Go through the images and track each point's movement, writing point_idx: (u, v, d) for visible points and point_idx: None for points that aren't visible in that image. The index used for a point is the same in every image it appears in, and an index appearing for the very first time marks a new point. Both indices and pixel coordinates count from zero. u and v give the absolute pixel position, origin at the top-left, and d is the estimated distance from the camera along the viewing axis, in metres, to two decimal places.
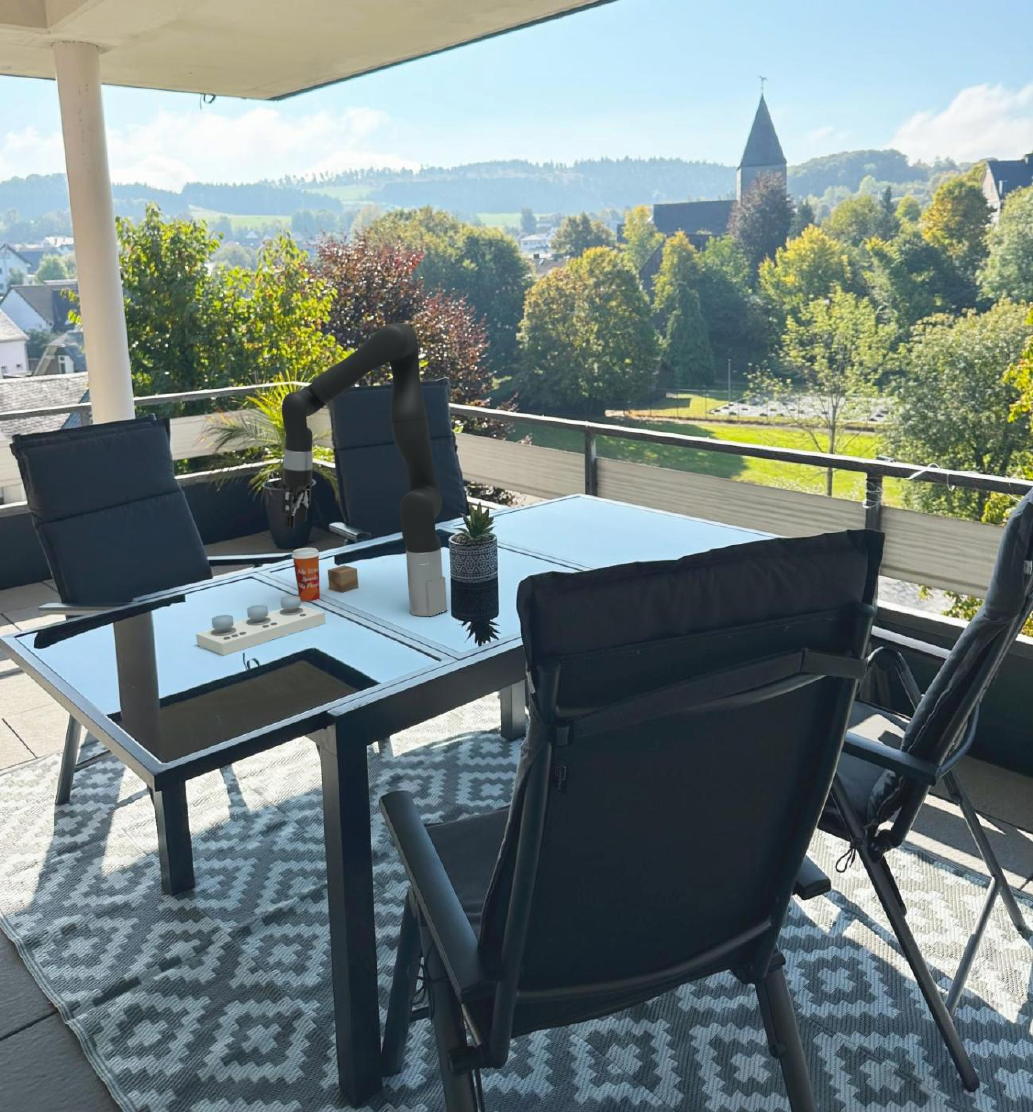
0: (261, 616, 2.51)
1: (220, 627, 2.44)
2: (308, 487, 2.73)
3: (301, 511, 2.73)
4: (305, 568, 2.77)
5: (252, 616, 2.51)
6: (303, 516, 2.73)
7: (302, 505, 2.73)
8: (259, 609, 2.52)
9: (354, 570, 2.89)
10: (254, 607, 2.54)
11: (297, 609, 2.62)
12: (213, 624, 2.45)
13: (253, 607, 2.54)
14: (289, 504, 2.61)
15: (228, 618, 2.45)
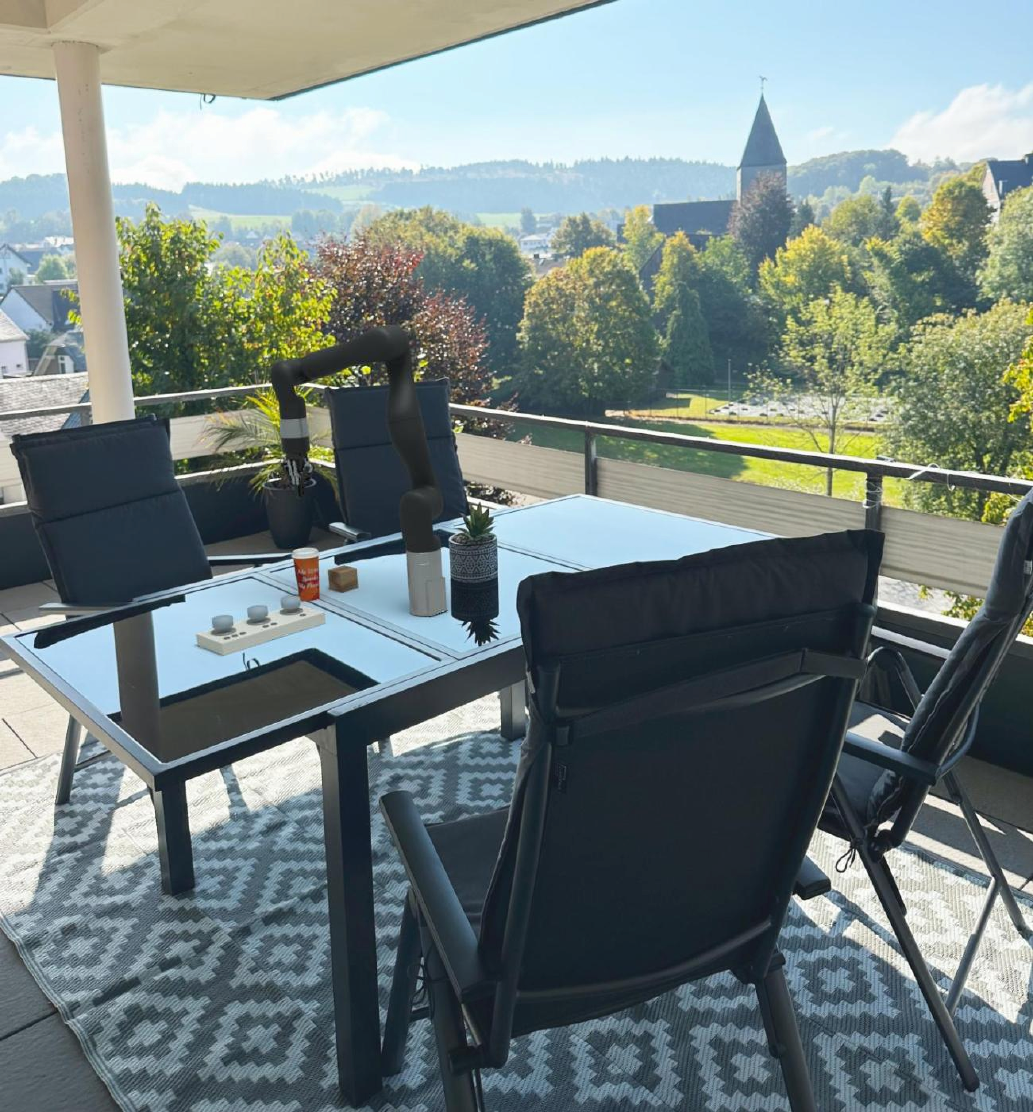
0: (261, 616, 2.51)
1: (220, 627, 2.44)
2: None
3: None
4: (305, 568, 2.77)
5: (252, 616, 2.51)
6: None
7: None
8: (259, 609, 2.52)
9: (354, 570, 2.89)
10: (254, 607, 2.54)
11: (297, 609, 2.62)
12: (213, 624, 2.45)
13: (253, 607, 2.54)
14: (310, 475, 2.71)
15: (228, 618, 2.45)
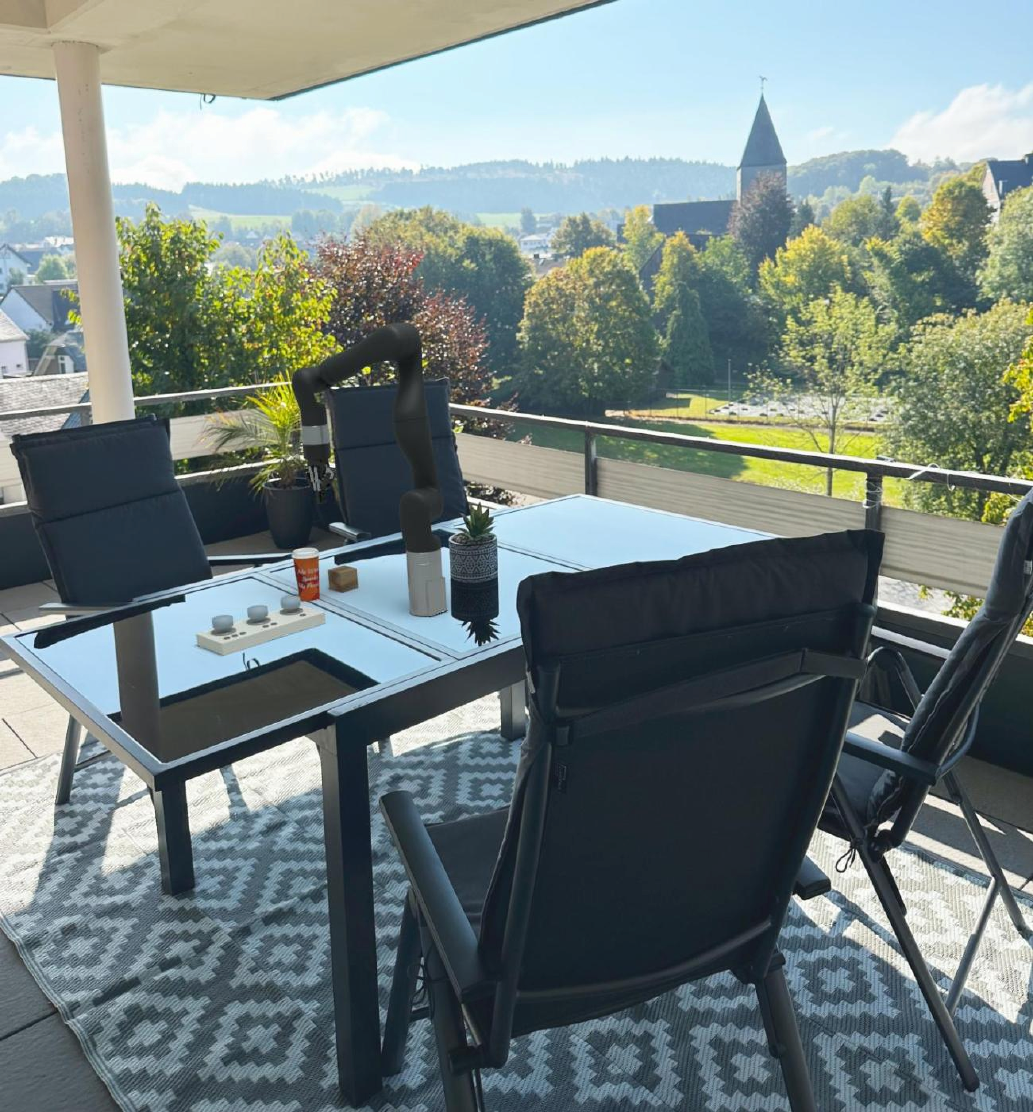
0: (261, 616, 2.51)
1: (220, 627, 2.44)
2: None
3: None
4: (305, 568, 2.77)
5: (252, 616, 2.51)
6: None
7: None
8: (259, 609, 2.52)
9: (354, 570, 2.89)
10: (254, 607, 2.54)
11: (297, 609, 2.62)
12: (213, 624, 2.45)
13: (253, 607, 2.54)
14: (331, 481, 2.73)
15: (228, 618, 2.45)
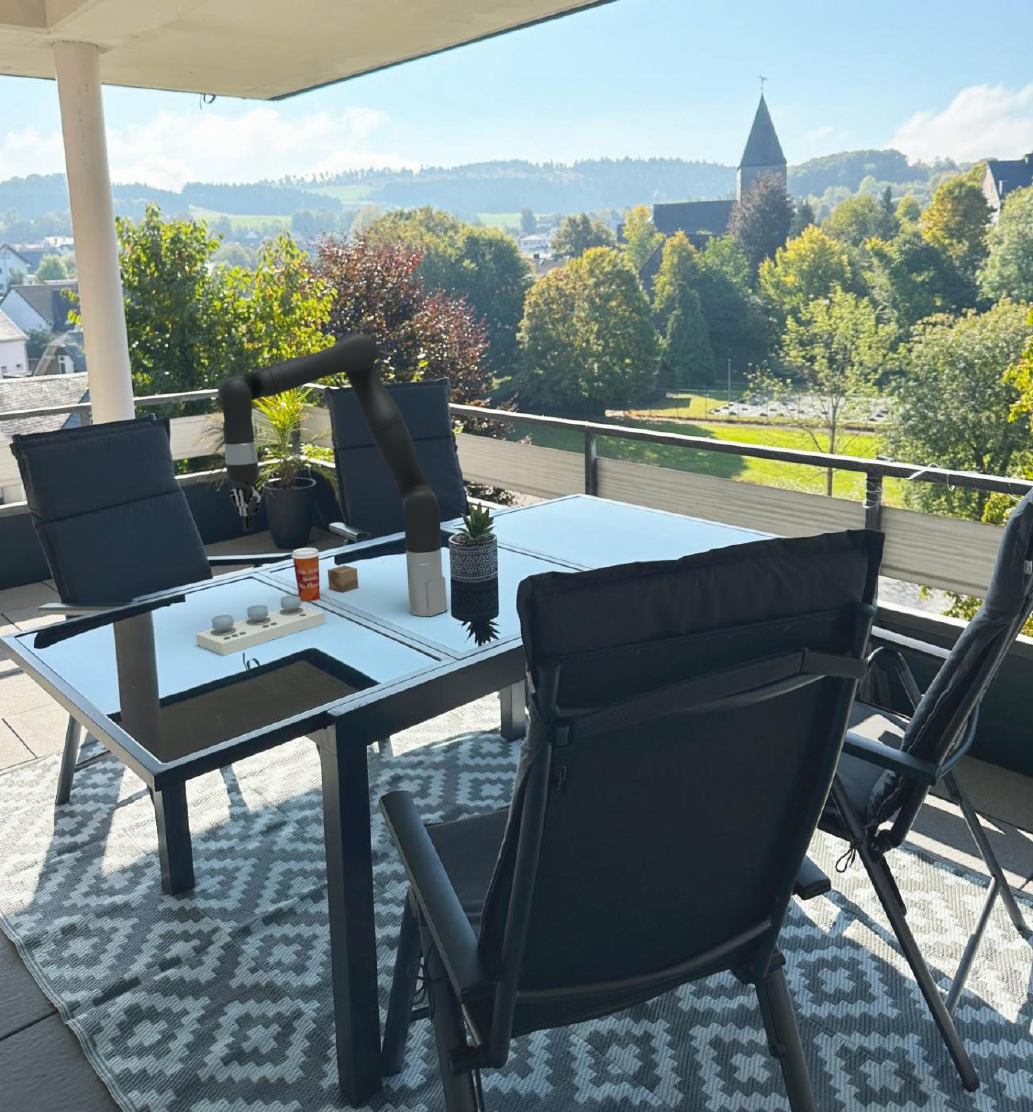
0: (261, 616, 2.51)
1: (220, 627, 2.44)
2: None
3: None
4: (305, 568, 2.77)
5: (252, 616, 2.51)
6: None
7: None
8: (259, 609, 2.52)
9: (354, 570, 2.89)
10: (254, 607, 2.54)
11: (297, 609, 2.62)
12: (213, 624, 2.45)
13: (253, 607, 2.54)
14: (259, 506, 2.44)
15: (228, 618, 2.45)
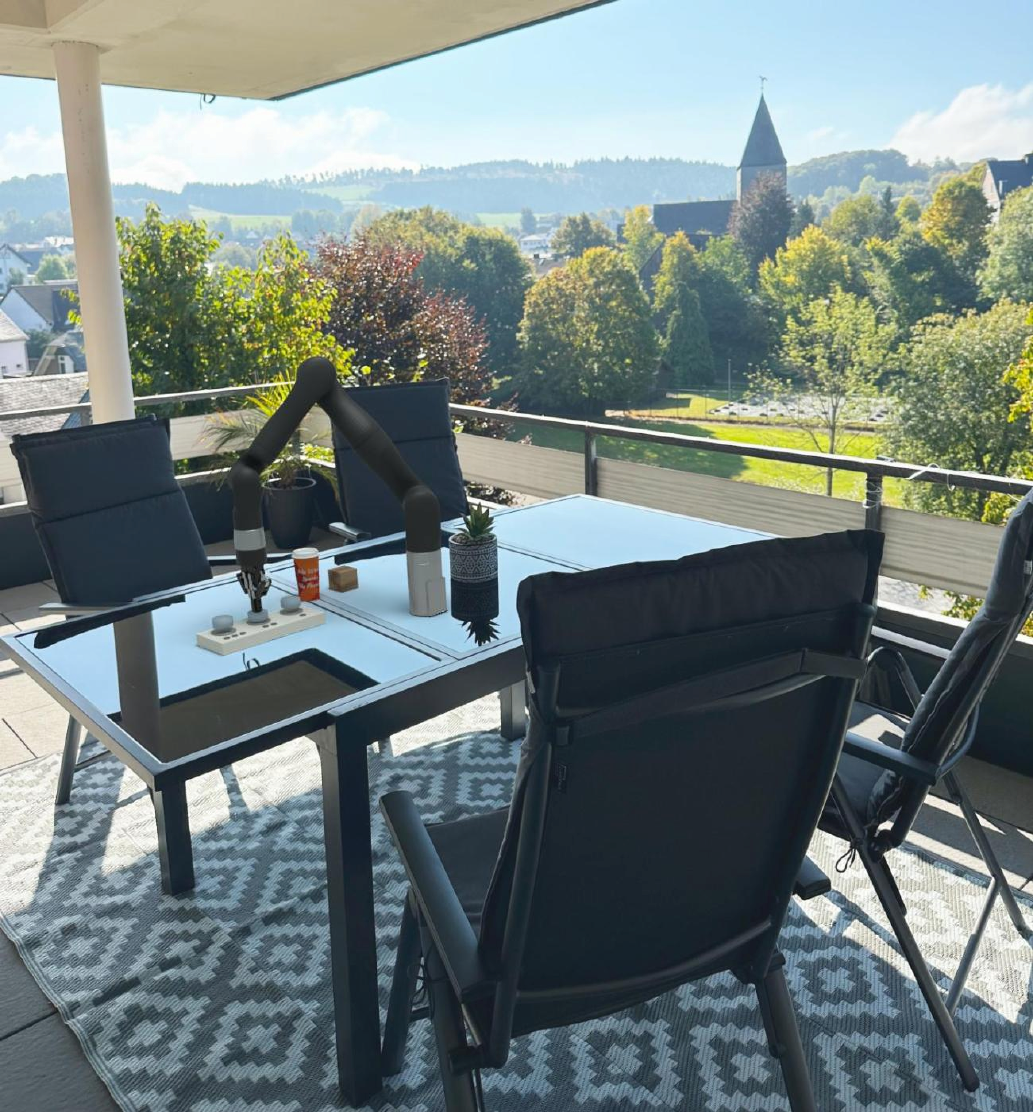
0: (261, 619, 2.52)
1: (220, 627, 2.44)
2: None
3: None
4: (305, 568, 2.77)
5: (253, 620, 2.51)
6: None
7: None
8: (260, 612, 2.52)
9: (354, 570, 2.89)
10: None
11: (297, 609, 2.62)
12: (213, 624, 2.45)
13: None
14: (267, 589, 2.49)
15: (228, 618, 2.45)
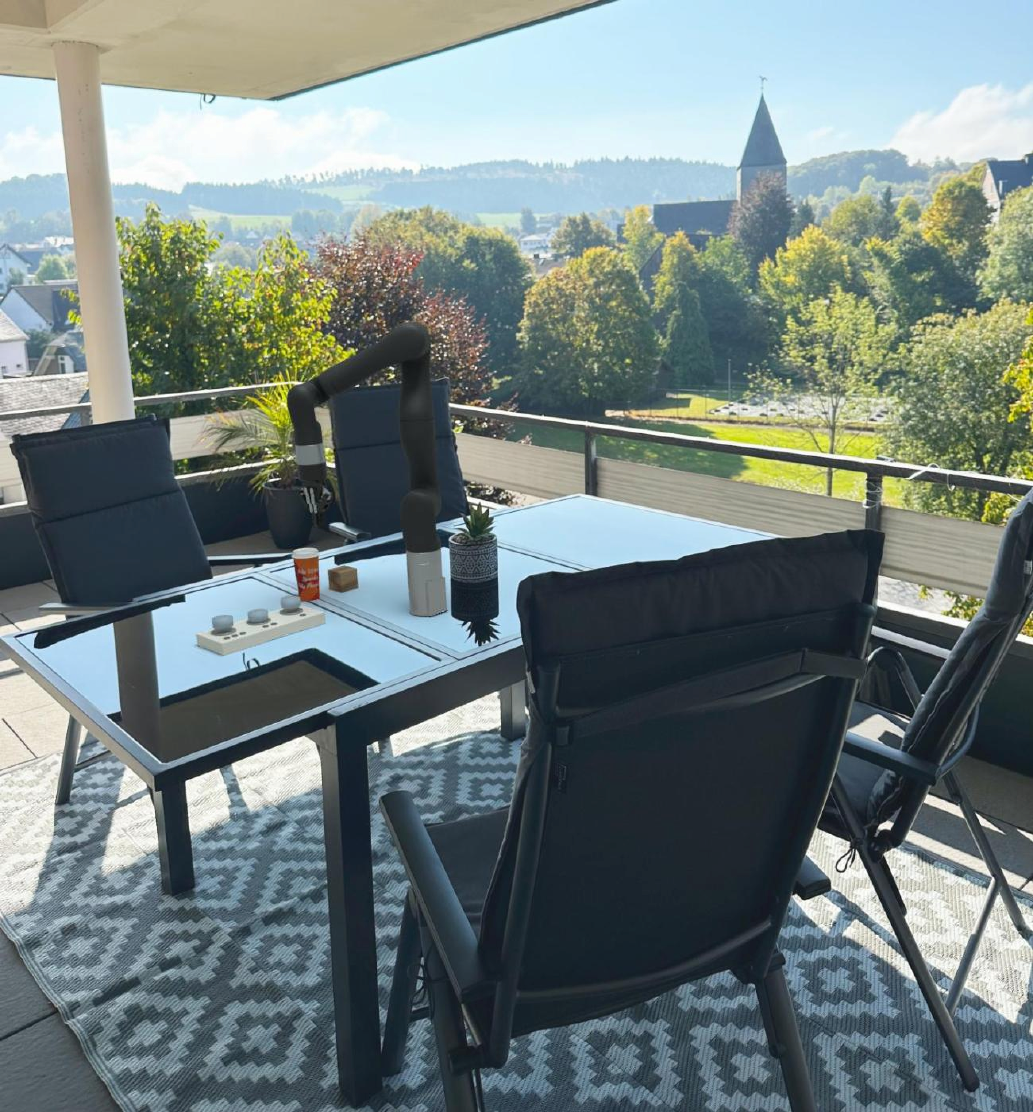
0: (261, 620, 2.52)
1: (220, 627, 2.44)
2: None
3: None
4: (305, 568, 2.77)
5: (253, 620, 2.51)
6: None
7: None
8: (260, 613, 2.52)
9: (354, 570, 2.89)
10: (254, 611, 2.54)
11: (297, 609, 2.62)
12: (213, 624, 2.45)
13: (253, 611, 2.54)
14: (329, 503, 2.60)
15: (228, 618, 2.45)
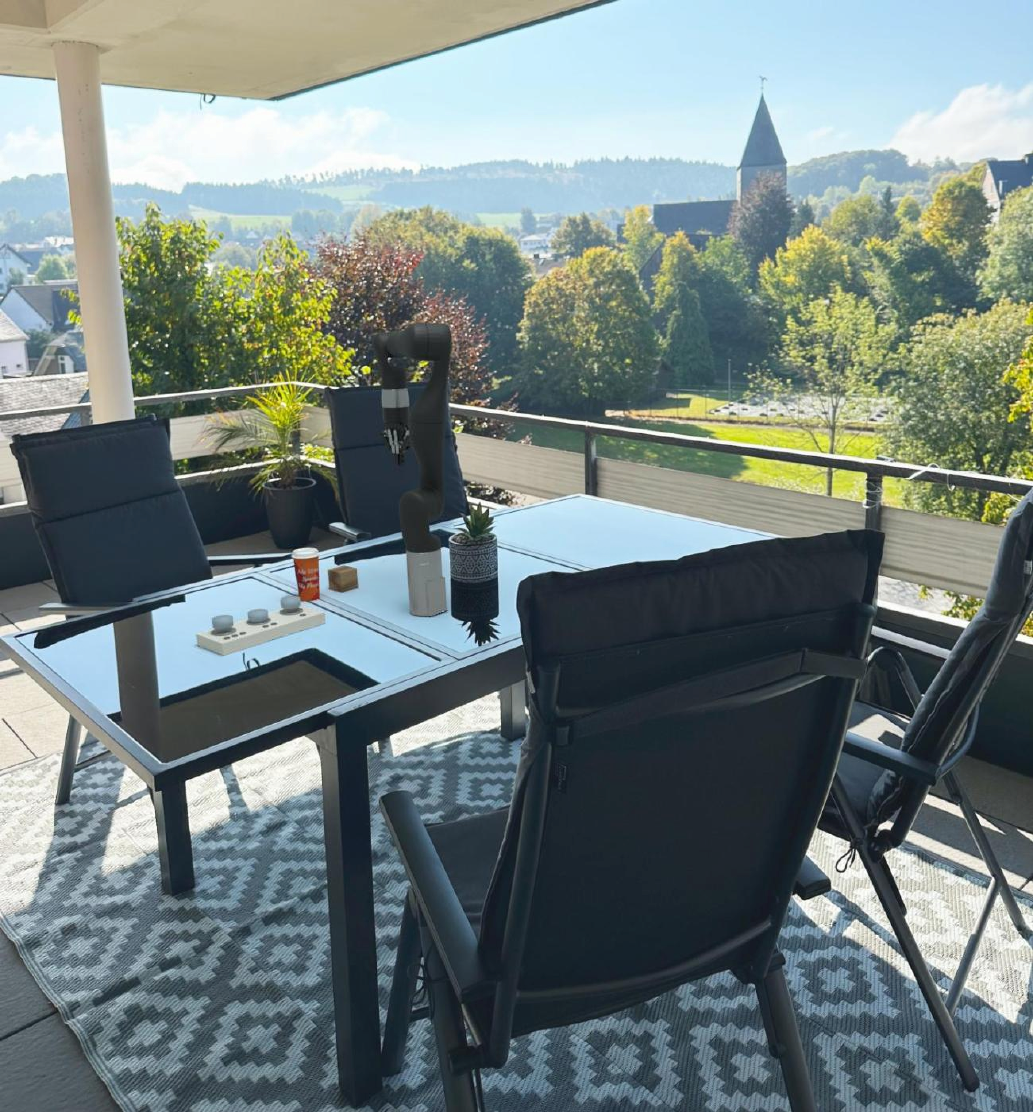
0: (261, 620, 2.52)
1: (220, 627, 2.44)
2: None
3: None
4: (305, 568, 2.77)
5: (253, 620, 2.51)
6: None
7: None
8: (260, 613, 2.52)
9: (354, 570, 2.89)
10: (254, 611, 2.54)
11: (297, 609, 2.62)
12: (213, 624, 2.45)
13: (253, 611, 2.54)
14: (410, 444, 2.80)
15: (228, 618, 2.45)
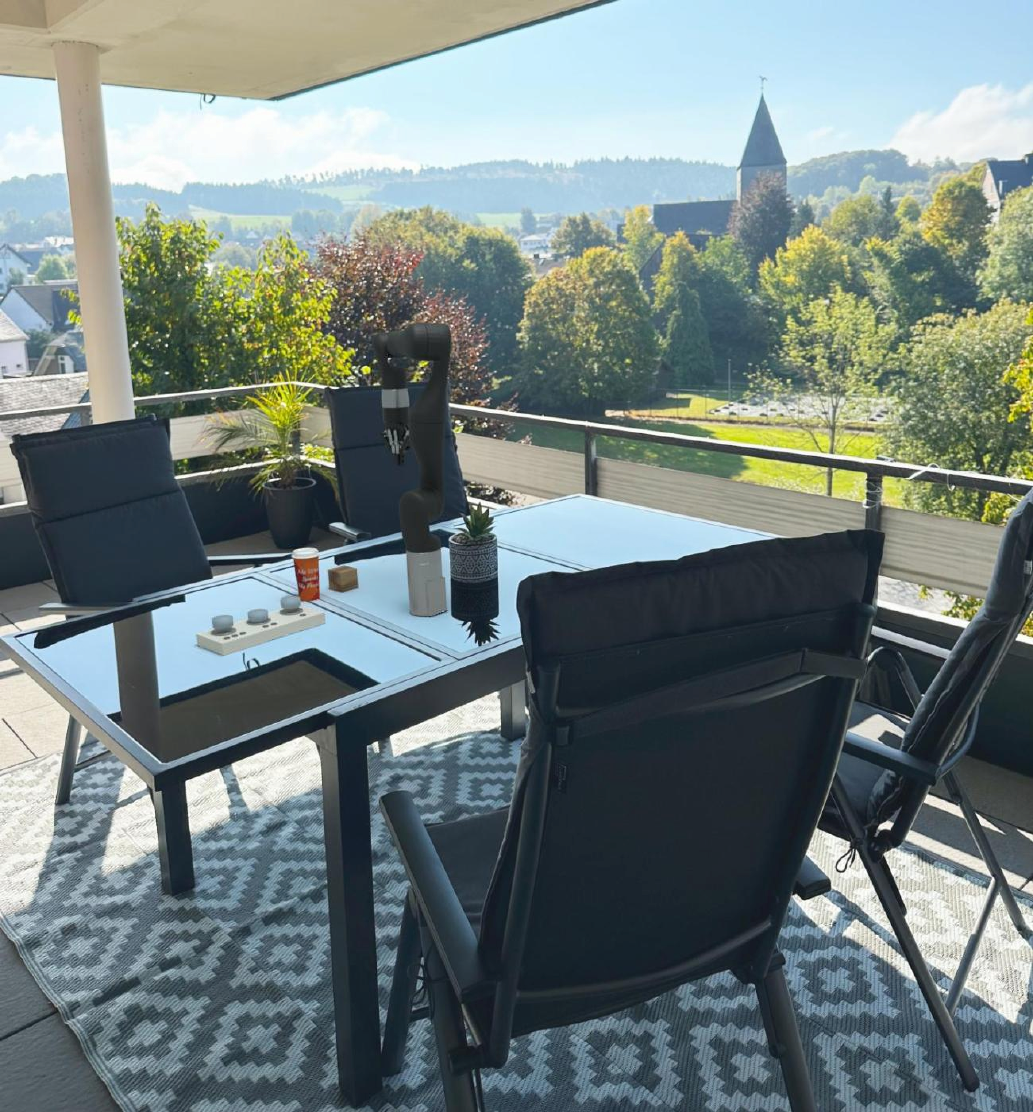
0: (261, 620, 2.52)
1: (220, 627, 2.44)
2: None
3: None
4: (305, 568, 2.77)
5: (253, 620, 2.51)
6: None
7: None
8: (260, 613, 2.52)
9: (354, 570, 2.89)
10: (254, 611, 2.54)
11: (297, 609, 2.62)
12: (213, 624, 2.45)
13: (253, 611, 2.54)
14: (410, 444, 2.80)
15: (228, 618, 2.45)
